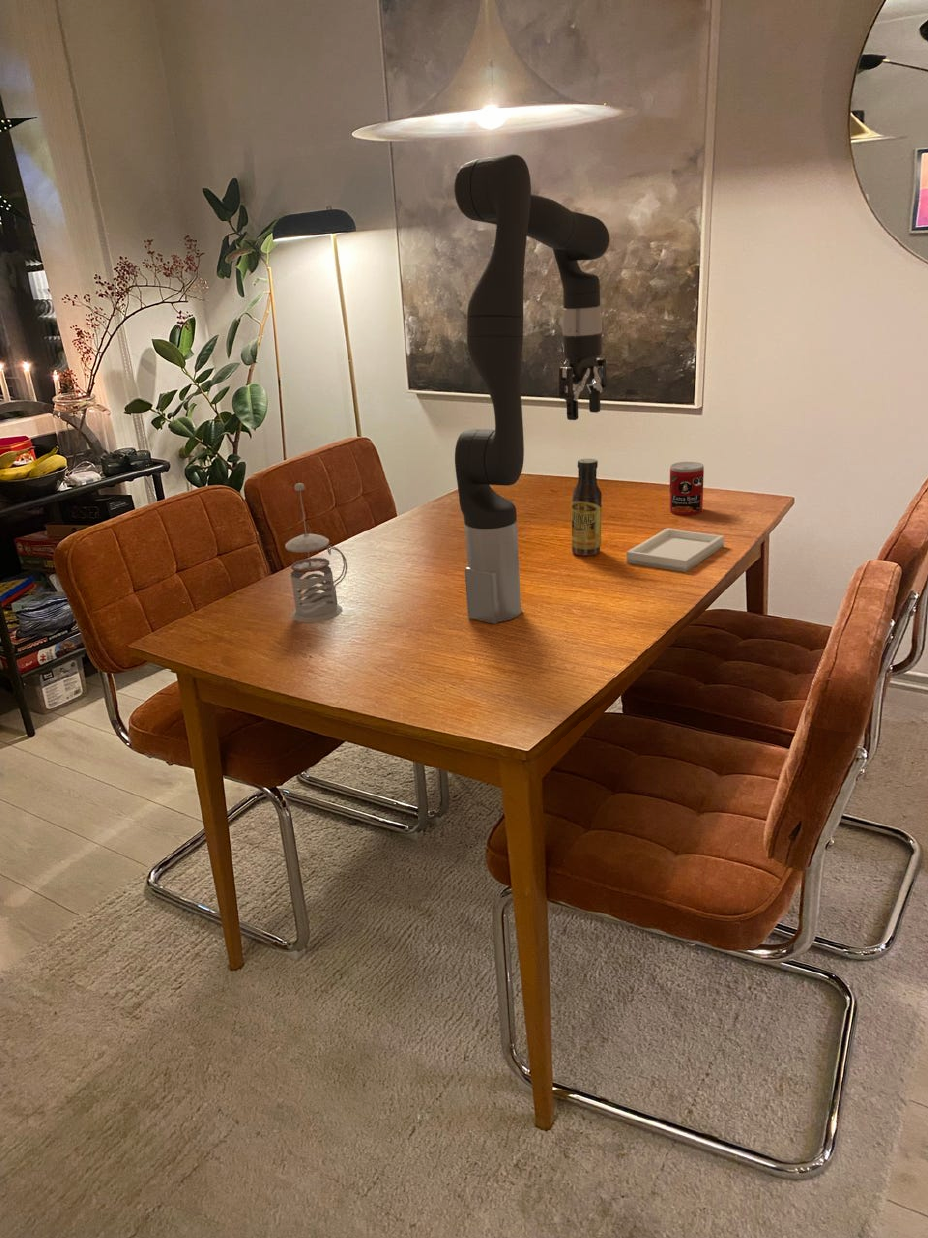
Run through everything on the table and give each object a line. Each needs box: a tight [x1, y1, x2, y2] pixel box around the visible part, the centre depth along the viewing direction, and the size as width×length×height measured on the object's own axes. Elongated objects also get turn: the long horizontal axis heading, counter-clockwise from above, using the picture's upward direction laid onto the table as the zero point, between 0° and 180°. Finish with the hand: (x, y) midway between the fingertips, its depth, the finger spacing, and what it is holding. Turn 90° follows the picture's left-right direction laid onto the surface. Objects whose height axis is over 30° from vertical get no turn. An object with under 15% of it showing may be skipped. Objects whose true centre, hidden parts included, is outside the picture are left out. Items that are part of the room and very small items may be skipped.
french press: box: [285, 482, 348, 624], centre depth 171 cm, size 10×12×25 cm
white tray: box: [626, 527, 725, 573], centre depth 192 cm, size 18×13×2 cm
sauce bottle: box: [570, 458, 603, 557], centre depth 193 cm, size 6×6×20 cm
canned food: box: [668, 461, 705, 516], centre depth 219 cm, size 8×8×11 cm
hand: (584, 415), depth 186 cm, fingers open, 8 cm apart
